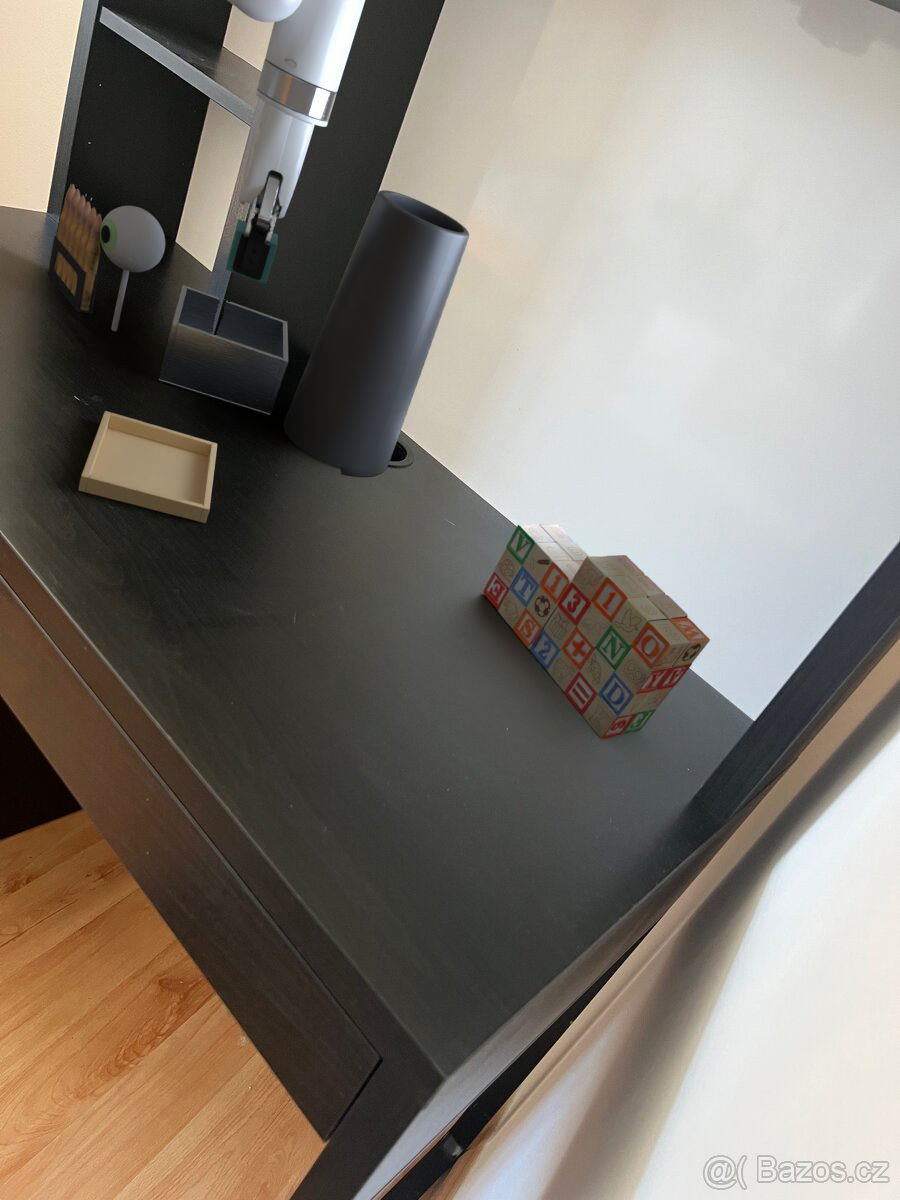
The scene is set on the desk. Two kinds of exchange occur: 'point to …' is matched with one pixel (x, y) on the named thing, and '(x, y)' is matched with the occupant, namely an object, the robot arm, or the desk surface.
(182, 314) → the dark open-top crate
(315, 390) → the vase
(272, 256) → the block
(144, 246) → the lollipop
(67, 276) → the ammunition clip
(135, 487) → the shallow wooden tray
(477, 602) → the desk surface
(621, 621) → the stack of blocks
